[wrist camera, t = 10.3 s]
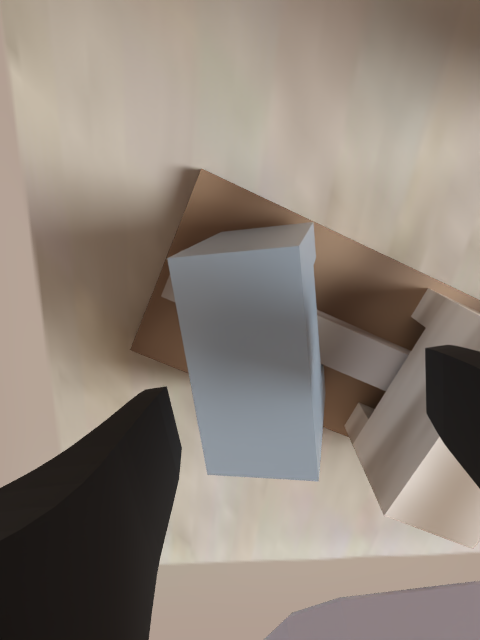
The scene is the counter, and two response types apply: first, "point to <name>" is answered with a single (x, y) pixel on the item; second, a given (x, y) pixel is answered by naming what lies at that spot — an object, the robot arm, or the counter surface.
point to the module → (254, 350)
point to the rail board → (355, 355)
